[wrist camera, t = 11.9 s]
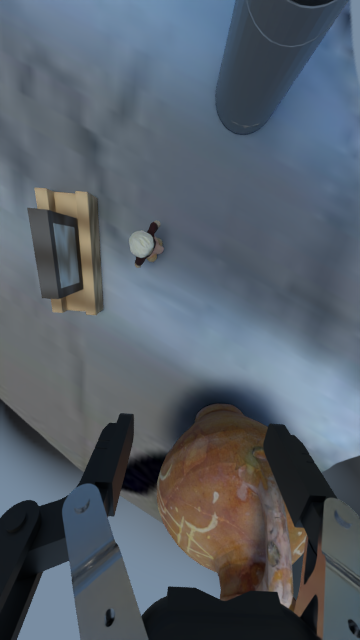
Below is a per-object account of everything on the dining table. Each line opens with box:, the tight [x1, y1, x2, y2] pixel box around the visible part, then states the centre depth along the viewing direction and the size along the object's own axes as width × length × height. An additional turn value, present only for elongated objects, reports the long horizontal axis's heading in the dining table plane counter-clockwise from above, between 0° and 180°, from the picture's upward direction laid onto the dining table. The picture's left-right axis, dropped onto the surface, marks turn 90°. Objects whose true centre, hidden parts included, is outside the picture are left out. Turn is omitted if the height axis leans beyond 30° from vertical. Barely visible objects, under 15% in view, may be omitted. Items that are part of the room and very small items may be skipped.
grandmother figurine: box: [129, 221, 164, 268], centre depth 31 cm, size 8×4×13 cm, turn 162°
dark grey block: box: [27, 208, 84, 299], centre depth 31 cm, size 12×3×8 cm, turn 176°
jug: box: [157, 403, 307, 612], centre depth 37 cm, size 28×28×30 cm
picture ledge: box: [35, 188, 103, 315], centre depth 35 cm, size 20×8×4 cm, turn 176°
